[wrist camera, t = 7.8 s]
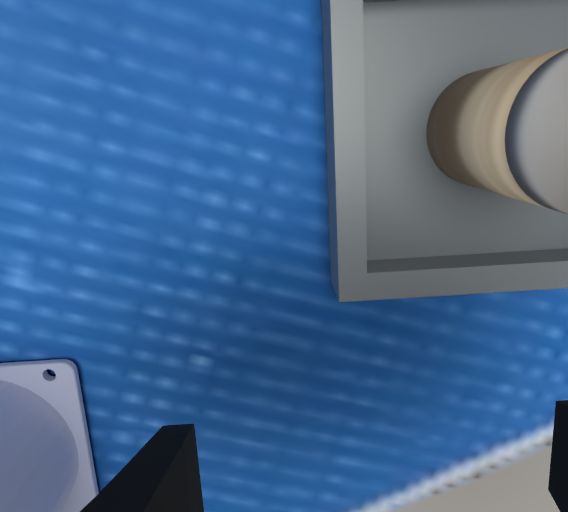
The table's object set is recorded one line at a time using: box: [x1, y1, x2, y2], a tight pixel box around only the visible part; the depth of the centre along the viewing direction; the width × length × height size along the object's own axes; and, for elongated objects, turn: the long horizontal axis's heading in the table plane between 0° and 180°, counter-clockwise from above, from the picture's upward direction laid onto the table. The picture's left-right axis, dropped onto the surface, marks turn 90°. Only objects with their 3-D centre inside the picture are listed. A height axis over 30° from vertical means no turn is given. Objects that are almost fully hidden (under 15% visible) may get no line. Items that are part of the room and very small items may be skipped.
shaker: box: [427, 47, 568, 214], centre depth 14 cm, size 4×4×7 cm
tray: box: [321, 0, 568, 302], centre depth 17 cm, size 11×11×2 cm
